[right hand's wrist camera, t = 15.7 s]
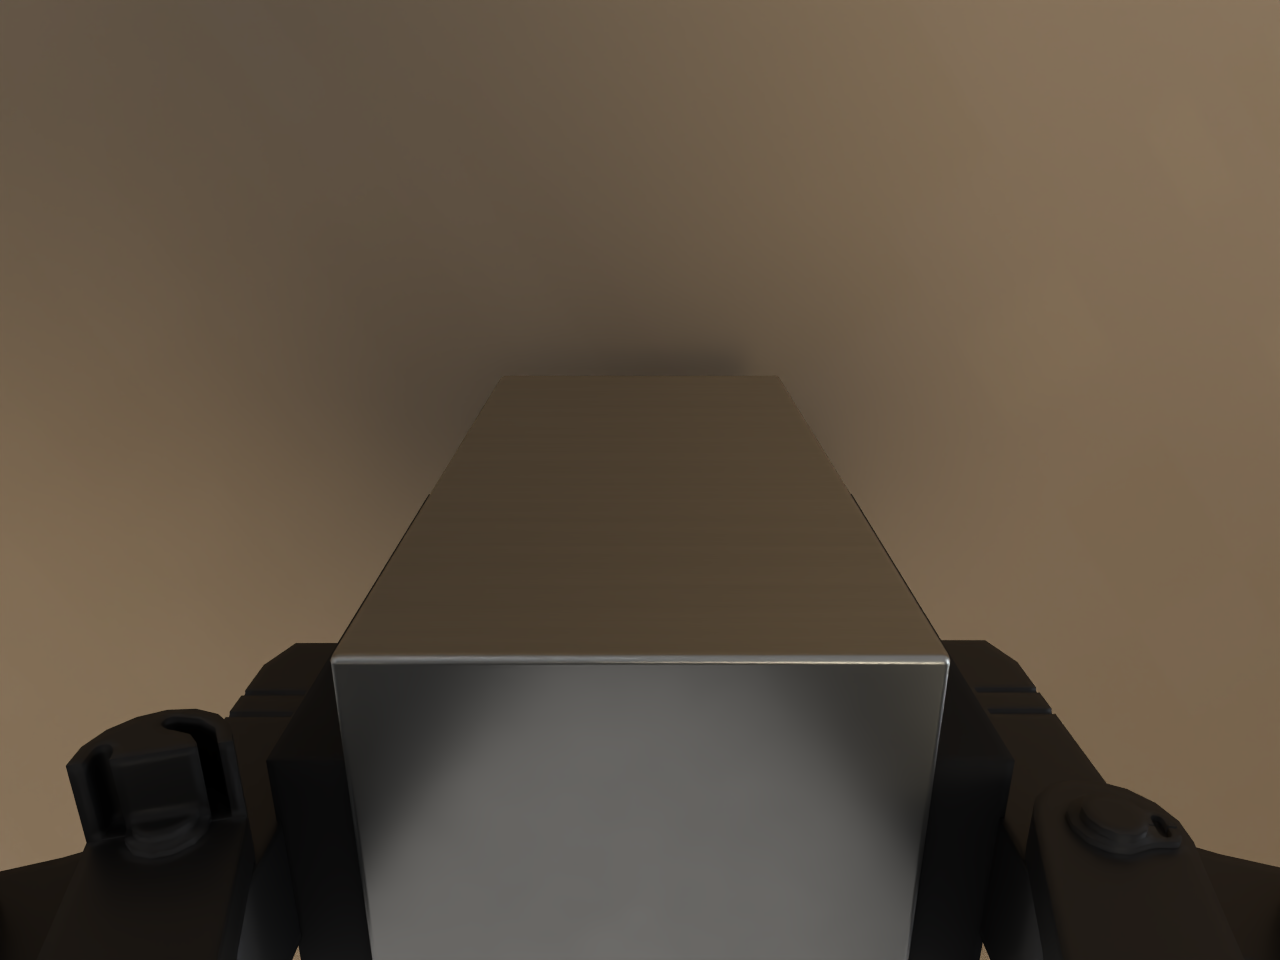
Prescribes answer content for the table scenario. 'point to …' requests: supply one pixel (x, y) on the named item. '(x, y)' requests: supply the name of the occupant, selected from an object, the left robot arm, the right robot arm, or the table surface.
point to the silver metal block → (640, 691)
